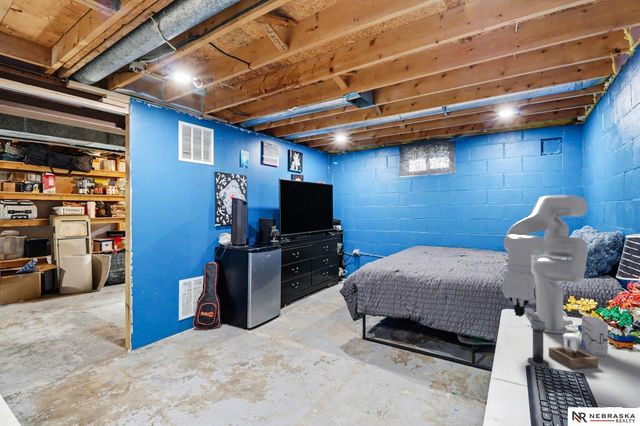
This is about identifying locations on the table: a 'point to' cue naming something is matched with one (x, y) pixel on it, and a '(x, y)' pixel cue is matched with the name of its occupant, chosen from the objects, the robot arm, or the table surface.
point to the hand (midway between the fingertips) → (519, 315)
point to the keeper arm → (534, 320)
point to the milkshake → (571, 344)
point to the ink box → (594, 335)
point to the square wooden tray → (574, 363)
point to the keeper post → (538, 350)
